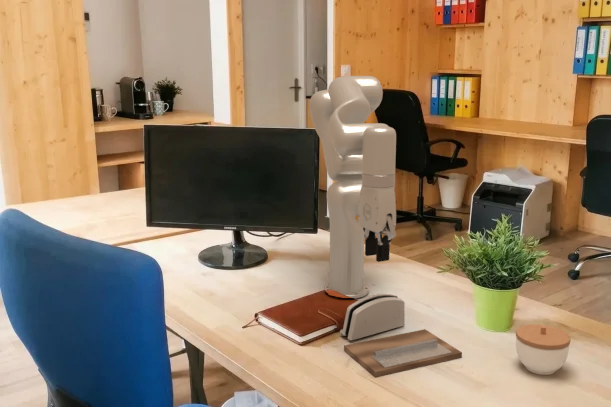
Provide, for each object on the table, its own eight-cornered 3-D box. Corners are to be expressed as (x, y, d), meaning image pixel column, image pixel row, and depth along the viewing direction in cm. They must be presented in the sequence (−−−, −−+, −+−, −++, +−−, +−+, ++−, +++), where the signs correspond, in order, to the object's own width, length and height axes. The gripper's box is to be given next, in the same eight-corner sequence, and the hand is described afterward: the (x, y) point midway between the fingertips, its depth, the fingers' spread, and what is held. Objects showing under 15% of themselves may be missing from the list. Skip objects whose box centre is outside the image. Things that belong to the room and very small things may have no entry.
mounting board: (343, 350, 141) (344, 345, 141) (424, 333, 150) (425, 329, 150) (375, 377, 129) (375, 371, 129) (461, 357, 138) (462, 352, 137)
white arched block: (392, 322, 157) (396, 286, 154) (404, 330, 154) (408, 293, 151) (338, 337, 148) (341, 299, 146) (350, 346, 145) (353, 307, 142)
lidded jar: (578, 377, 128) (582, 334, 127) (531, 382, 126) (534, 339, 124) (548, 354, 139) (551, 315, 137) (504, 359, 137) (506, 319, 135)
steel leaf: (371, 357, 135) (371, 351, 135) (436, 343, 142) (436, 338, 141) (384, 368, 130) (384, 362, 130) (451, 353, 137) (451, 347, 136)
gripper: (346, 176, 148) (346, 250, 152) (383, 188, 133) (381, 270, 137) (374, 174, 151) (372, 247, 155) (413, 185, 136) (410, 265, 140)
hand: (376, 257), depth 146 cm, fingers open, 4 cm apart
